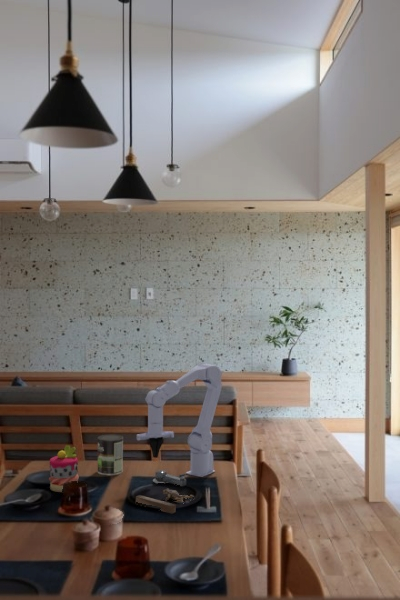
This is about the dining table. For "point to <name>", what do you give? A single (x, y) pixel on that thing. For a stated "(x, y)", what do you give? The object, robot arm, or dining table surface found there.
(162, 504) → the brown wooden bar
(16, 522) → the dining table surface
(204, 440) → the robot arm
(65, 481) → the cake
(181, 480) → the crank
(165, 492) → the frog figurine
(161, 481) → the crank base plate
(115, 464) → the coffee can
